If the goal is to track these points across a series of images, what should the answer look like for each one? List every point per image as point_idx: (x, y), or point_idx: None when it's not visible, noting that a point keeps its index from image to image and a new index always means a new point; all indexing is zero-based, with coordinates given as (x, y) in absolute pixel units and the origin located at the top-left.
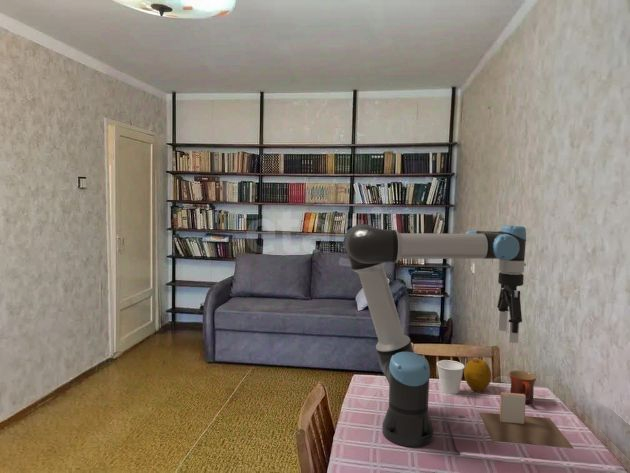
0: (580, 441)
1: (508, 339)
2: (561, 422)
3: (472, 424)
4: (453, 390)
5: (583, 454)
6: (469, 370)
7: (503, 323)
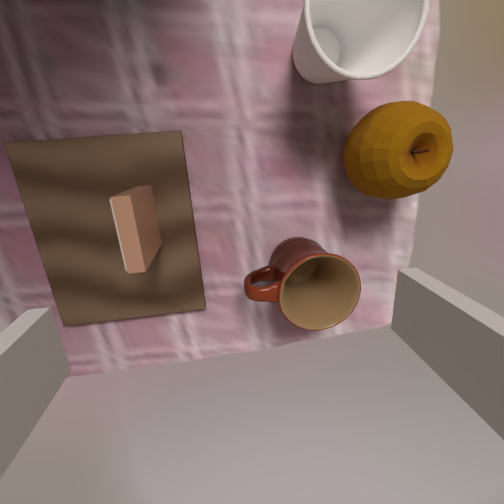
0: (128, 343)
1: (40, 317)
2: (210, 326)
3: (116, 103)
4: (296, 55)
5: (68, 337)
6: (381, 114)
7: (440, 342)
